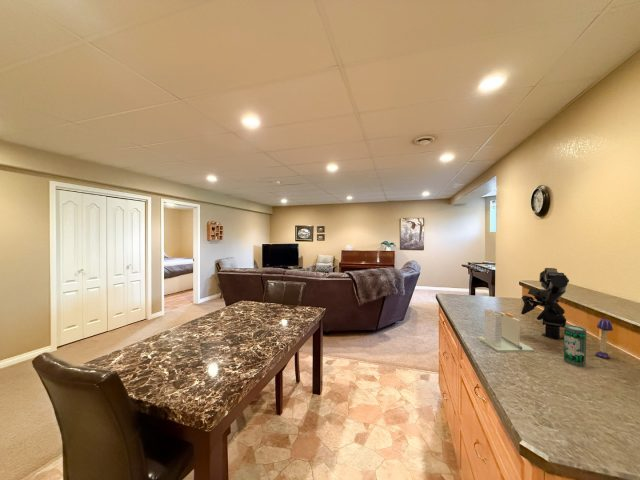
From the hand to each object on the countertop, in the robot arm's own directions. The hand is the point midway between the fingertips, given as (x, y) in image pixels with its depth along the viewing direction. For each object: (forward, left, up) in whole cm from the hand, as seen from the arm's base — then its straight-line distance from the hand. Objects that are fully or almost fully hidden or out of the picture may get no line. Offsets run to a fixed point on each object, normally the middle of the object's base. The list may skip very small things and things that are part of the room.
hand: (529, 316), depth 122 cm
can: (+2, +18, -14) cm, 23 cm away
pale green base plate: (+12, -4, -14) cm, 19 cm away
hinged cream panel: (+10, -3, -12) cm, 16 cm away
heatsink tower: (+17, -6, -13) cm, 22 cm away
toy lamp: (-16, +20, -14) cm, 29 cm away
